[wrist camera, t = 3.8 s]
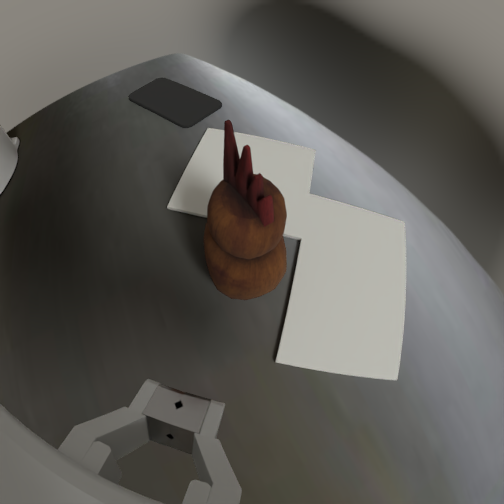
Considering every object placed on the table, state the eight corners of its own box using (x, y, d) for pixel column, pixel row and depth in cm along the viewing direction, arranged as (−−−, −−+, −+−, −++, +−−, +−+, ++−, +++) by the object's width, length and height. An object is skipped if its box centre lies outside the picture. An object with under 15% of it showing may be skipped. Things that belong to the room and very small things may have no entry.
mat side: (167, 209, 27) (167, 206, 27) (208, 130, 32) (207, 127, 32) (300, 240, 26) (301, 238, 26) (314, 152, 31) (315, 149, 31)
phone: (185, 128, 32) (125, 96, 35) (186, 133, 33) (126, 100, 36) (225, 103, 34) (161, 76, 38) (225, 107, 35) (161, 80, 38)
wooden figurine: (204, 244, 25) (177, 109, 12) (264, 233, 26) (289, 96, 13) (218, 315, 23) (192, 223, 9) (284, 301, 24) (346, 196, 10)
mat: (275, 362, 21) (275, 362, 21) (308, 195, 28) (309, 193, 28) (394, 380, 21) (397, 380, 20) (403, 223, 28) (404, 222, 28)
